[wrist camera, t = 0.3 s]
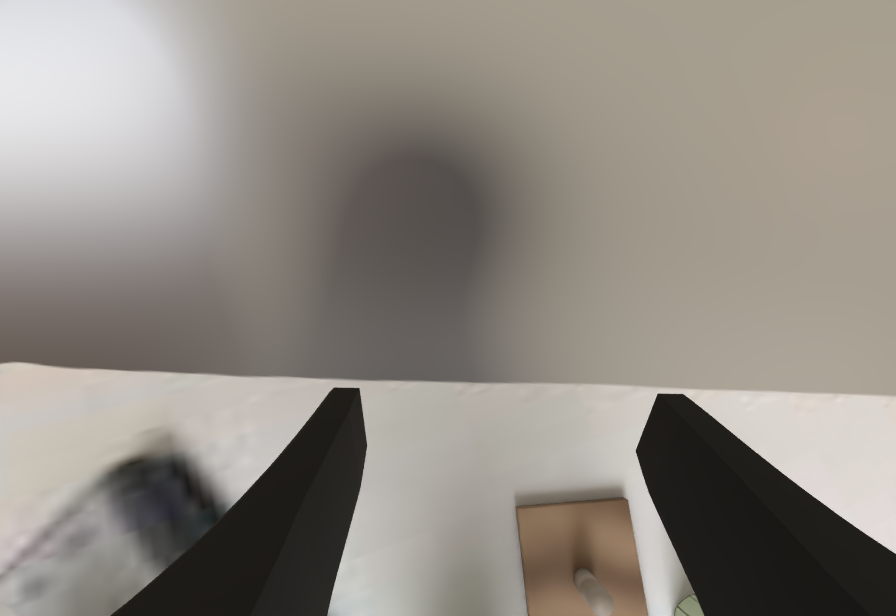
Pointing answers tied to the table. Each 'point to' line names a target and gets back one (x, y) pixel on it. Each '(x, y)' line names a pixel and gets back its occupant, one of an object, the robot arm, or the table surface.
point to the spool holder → (580, 559)
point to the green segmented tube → (689, 607)
